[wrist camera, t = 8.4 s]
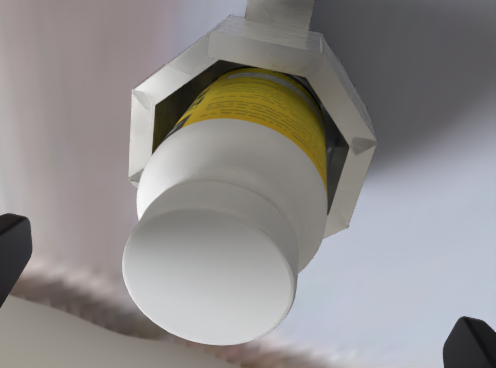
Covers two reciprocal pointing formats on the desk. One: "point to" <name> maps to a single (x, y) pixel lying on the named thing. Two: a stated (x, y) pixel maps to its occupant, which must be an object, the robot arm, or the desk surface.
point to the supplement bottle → (231, 209)
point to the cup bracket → (273, 58)
